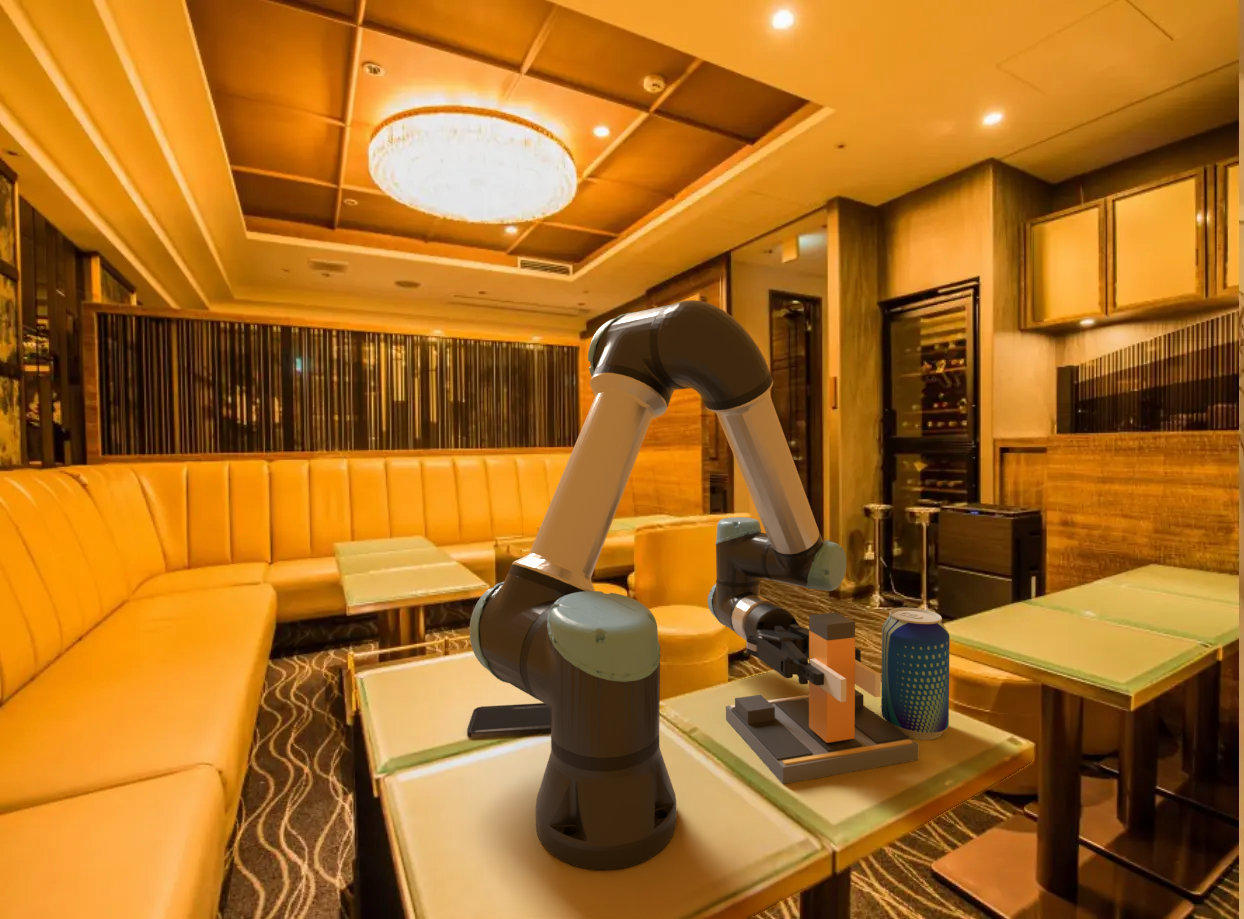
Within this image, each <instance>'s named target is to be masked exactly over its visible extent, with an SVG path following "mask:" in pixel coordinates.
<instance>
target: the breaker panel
mask: <svg viewBox="0 0 1244 919" xmlns="http://www.w3.org/2000/svg"><path fill="white" fill-rule="evenodd" d="M725 720H726V722H727V723H728V724H729V725H730V726H731V727H732V728H733V730H735V732H736V733H737V734H738V735H739V736H740V737H741V739H742V740H743V741H744V742H745V743H746V744H747V745H748V746H749V748H750V749H751V750H752V751H753V752H754V753H755V754H756V756H758V757H759V759H760V760H761V761H762V762H763V763H764V765H765V766H767V768H768V770H770V771H771V772H772V774H773V775H775V777H776V778H777V779H778V780H779V781H780V782H781V784H782V785H784V784H790V783H792V784H793V783H797V782H802V781H807V780H813V779H814V780H815V779H819V778H825V777H830V776H835V775H841V774H846V773H853V772H859V771H864V770H869V769H875V768H880V767H885V766H887V767H888V766H892V765H897V764H902V763H903V764H904V763H907V762H915V761H918V760H919V744H918V743H917V742H916V741H915V740H913V739H912V738H910V737H909V736H907V735H906V734H904V733H903V732H901V731H900V730H898V729H897V728H896V727H894V726H893V725H891V724H890V723H888V722H887V721H886V720H885V719H884V717H883V718H882V717H881V716H880V715H878V714H876V712H874V711H873V710H871V709H870V708H868V707H867V706H866V705H864V694H863V693H862V692H860V691H859V690H857V689H855V738H854V739H847V740H841V741H835V742H829V743H826V742H825V741H824V740H823V739H822V738H821V737H820V736H818V735H817V734H816V733H815V732H814V731H813V730H811V729H810V728H809V694H805V695H798V696H797V695H796V696H791V697H782V698H775V699H766V698H765V697H764V696H763V695H762V694H757V695H747V696H741V697H736V698H734V704H730V705H725Z"/></svg>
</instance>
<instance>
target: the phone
mask: <svg viewBox="0 0 1244 919" xmlns="http://www.w3.org/2000/svg"><path fill="white" fill-rule="evenodd" d="M531 735H532V736H535V735H551V712H550V707H549V706H548V705H547V704H545V703H543V702H540V703H539V702H538V703H523V704H521V703H520V704H519V703H518V704H504V705H503V704H502V705H501V704H500V705H487V706H485V705H484V706H483V705H482V706H478V707H476V708H474V709H473V711H472V714H471V716H470V719H469V723H468V725H467V728H466V736H467V737H468V738H470V739H483V738H484V739H485V738H487V739H488V738H499V737H502V738H503V737H515V736H517V737H518V736H531Z"/></svg>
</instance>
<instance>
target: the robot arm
mask: <svg viewBox="0 0 1244 919" xmlns="http://www.w3.org/2000/svg"><path fill="white" fill-rule="evenodd" d="M587 361H588V362H589V364H590V366H589V367H588V370H589V372H590V376H591V378H590V381H589V386H590V389H591V391H592V393H593V395H594V398H593V401H592V404H591V405H590V408H589V410H588V413H587V416H586V418H585V420H584V423H583V425H582V427H581V430H580V432H579V435H578V436H577V440H576V442H575V444H574V446H573V449H572V450H571V451H572V452H571V453H570V456H569V458H568V460H567V463H566V465H565V468H564V470H563V472H562V474H561V477H560V479H559V482H558V484H557V487H556V489H555V491H554V494H553V496H552V499H551V501H550V503H549V506H548V508H547V510H546V513H545V515H544V518H543V520H542V522H541V525H540V527H539V529H538V531H537V534H536V536H535V538H534V542H533V543H532V546H531V548H530V549H529V550H530V551H529V553H528V554H526V555H525V556H523V557H521V558H519V559H517V560H515V561H513V562H512V564H510V565H511V566H510V568H509V570H508V573H507V574H506V576H505V579H504V581H502V582H499V583H498V582H497V583H496V584H495V585H494V586H493V587H491V588H489V589H487V590H486V591H484V593H483V594H482V595H481V596H480V598H479V600H477V602H476V604H475V606H474V608H473V611H472V614H471V617H470V622H469V641H470V645H471V648H472V651H473V654H474V656H475V657H476V660H477V661H478V662H479V663H480V665H482V667H483V668H484V669H486V670H487V671H489V673H491V674H492V676H494V677H495V678H496V679H497V680H499V681H500V682H503V683H506V684H510V685H512V686H513V687H515V688H517V689H518V690H520V691H522V692H523V693H526V694H527V695H529V696H531V697H532V698H534V699H536V700H538V701H540V703H545V704H547V705H548V706H549V707H550V712H551V734H550V741H551V742H550V754H549V755H548V756H549V758H548V760H547V762H546V767H545V770H544V774H543V777H542V780H541V783H540V787H539V790H538V794H537V796H536V801H535V830H536V834H537V836H538V839H539V841H540V843H541V844H542V846H543V847H544V848H545V849H546V850H547V851H548V852H549V853H550V854H551V855H552V856H554V857H555V858H557V859H559V860H560V861H563V862H565V863H567V864H570V865H572V866H576V867H579V868H584V869H590V870H615V869H617V870H618V869H624V868H628V867H631V866H635V865H638V864H641V863H643V862H644V861H648V860H649V859H651V858H653V857H654V856H656V855H658V853H659V852H661V851H663V849H664V848H665V847H667V845H668V844H669V842H670V841H671V839H672V838H673V836H674V834H675V831H676V828H677V798H676V793H675V790H674V786H673V783H672V780H671V778H670V774H669V772H668V768H667V766H666V762H665V759H664V756H663V753H662V751H661V748H660V747H661V746H660V709H661V708H660V705H661V704H660V699H661V698H660V691H661V690H660V689H661V686H660V685H661V681H660V679H661V677H660V676H661V675H660V672H661V668H660V667H661V646H660V641H659V634H658V633H659V630H658V625H657V624H658V623H657V619H656V618H655V616H654V614H653V613H652V611H651V610H650V609H649V608H648V607H647V606H646V605H645V604H643V603H642V602H640V601H638V600H637V599H634V598H632V597H629V596H626V595H623V594H621V593H616V592H610V593H604V592H603V591H600V590H599V591H598V590H595V588H594V584H593V582H592V576H593V573H594V571H595V568H596V565H597V563H598V560H599V558H600V555H601V552H602V550H603V547H604V544H605V542H606V540H607V536H608V534H609V531H610V529H611V527H612V524H613V521H614V518H615V515H616V513H617V511H618V509H619V505H620V502H621V500H622V497H623V495H624V492H625V490H626V487H627V484H628V482H629V479H630V476H631V474H632V471H633V469H634V466H635V463H636V461H637V459H638V455H639V453H640V450H641V447H642V445H643V443H644V440H645V437H646V434H647V432H648V430H649V427H650V424H651V422H652V420H654V419H656V418H659V417H661V416H663V415H664V414H665V413H666V412H667V409H668V406H669V404H670V402H671V398H672V396H673V393H674V392H675V391H677V390H685V389H692V390H693V391H695V392H697V394H699V395H700V398H701V400H702V402H703V404H704V407H705V409H706V410H707V411H709V412H713V413H716V416H717V419H718V422H719V424H720V425H721V426H720V427H721V428H722V430H723V433H724V435H725V437H726V441H727V442H728V445H729V448H730V449H731V451H732V455H733V457H734V459H735V461H736V464H737V466H738V469H739V471H740V474H741V476H742V479H743V481H744V483H745V486H746V487H747V490H748V493H749V495H750V497H751V499H752V502H753V504H754V507H755V509H756V511H757V514H758V516H759V519H760V521H759V520H758V519H756V518H753V517H743V516H739V517H737V516H736V517H735V516H734V517H725V518H721V519H720V520H719V521H718V523H717V525H716V539H715V540H716V541H715V545H714V546H715V562H716V563H715V566H716V567H715V569H716V572H715V573H716V581H715V584H714V585H713V586H712V587H711V588H710V589H711V590H710V591H709V593H708V596H707V604H708V610H709V611H710V613H711V614H712V615H713V617H715V618H716V620H717V621H718V622H719V623H720V624H721V625H722V626H724V627H726V628H728V629H730V630H731V631H733V632H734V633H736V635H738V636H739V637H741V638H742V639H743V640H744V641H746V654H747V655H751V656H753V657H755V658H758V660H760V661H761V662H763V663H764V664H765V665H767V667H769V668H771V670H774V672H776V673H778V674H779V675H780V676H782V677H783V678H786V679H793V677H794V676H795V675H796V676H797V677H798V682H797V683H798V684H800V685H809V681H810V682H811V683H813V684H814V685H817V686H819V687H821V688H822V689H823V690H825V691H826V692H827V693H829V694H830V695H832V696H833V697H834V698H836V699H837V700H838V701H840V702H845V701H846V678H844V677H843V676H841V675H840V674H838V673H837V672H835V671H833V670H832V669H830V668H829V667H827V666H826V665H824V664H823V663H821V662H820V661H818V660H817V659H815V658H814V659H810V663H809V628H806V627H803V626H800V625H799V623H798V621H797V620H796V618H795V617H794V615H793V614H792V613H791V612H789V611H788V610H786V609H785V608H783V607H781V606H779V605H777V604H776V603H774V602H773V601H771V600H768V599H766V598H765V597H763V596H762V595H761V579H763V580H768V581H773V582H778V583H783V584H788V585H791V586H797V587H802V588H804V589H805V588H806V589H808V590H817V591H819V590H820V591H827V592H831V591H834V590H837V589H838V588H839V587H840V586H841V584H842V582H843V581H844V578H845V576H846V571H847V555H846V553H845V552H846V551H845V550H844V548H843V546H841V545H840V544H838V543H836V542H833V541H831V540H823V538H822V535H821V532H820V530H819V528H818V525H817V523H816V519H815V516H814V514H813V510H812V509H811V505H810V502H809V499H808V498H807V495H806V492H805V490H804V489H805V488H804V487H803V484H802V480H801V478H800V474H799V472H798V470H797V467H796V465H795V464H796V463H795V461H794V458H793V455H792V453H791V450H790V448H789V444H788V442H787V439H786V437H785V436H786V435H785V434H784V431H783V428H782V425H781V422H780V420H779V416H778V414H777V412H776V408H775V406H774V402H773V399H772V397H771V394H770V390H772V387H773V386H774V380H773V377H772V374H771V371H770V368H769V365H768V363H767V360H766V358H765V356H764V355H763V353H762V352H761V349H760V348H759V346H758V344H757V343H756V342H755V340H754V339H753V337H752V336H751V335H750V334H749V333H748V331H747V330H746V329H745V327H744V326H743V325H742V324H741V323H740V322H739V321H738V320H736V318H734V317H733V316H732V315H730V314H729V313H728V312H726V311H725V310H724V309H722V308H720V307H718V306H716V305H714V304H713V303H709V302H707V301H701V300H696V299H695V300H694V299H693V300H692V299H689V300H682V301H678V302H675V303H672V304H668V305H664V306H659V307H654V308H648V309H646V310H645V309H644V310H641V311H636V312H635V311H633V312H627V313H624V314H620V315H618V316H617V317H615V318H612V319H609V320H607V321H606V322H605V323H604V324H602V325H601V326H599V328H598V329H597V330H596V332H595V333H594V335H593V337H592V338H591V342H590V344H589V347H588V353H587ZM760 522H761V523H760ZM761 524H762V526H763V529H764V531H765V532H762V528H761ZM861 657H862V650H861V649H859V648H858V647H856V646H855V686H857V687H859V688H860V689H862V690H864V691H865V692H866V693H868V694H870V695H871V696H872V697H874V698H879V697H882V673H879V672H877V671H875V670H874V669H873V668H870V667H869V666H868V665H866V664H864V663H862V658H861Z"/></svg>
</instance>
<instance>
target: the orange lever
mask: <svg viewBox="0 0 1244 919" xmlns="http://www.w3.org/2000/svg"><path fill="white" fill-rule="evenodd" d="M808 624H809V625H808V629H809V658H808V663H810V659H814V658H815V659H817V660H818V661H820V662H821V663H823V664H824V665H826V666H827V667H829V668H830V669H832V670H833V671H835V672H837V673H838V674H840V675H841V676H843V677H844V678H846V701H845V702H840V701H838V700H837V699H836V698H834V697H833V696H832V695H830V694H829V693H827V692H826V691H825V690H823V689H822V688H821V687H819V686H817V685H814V684H813V683H811V682H810V681H809V680H808V695H809V728H810V729H811V730H813V731H814V732H815V733H816V734H817V735H818V736H820V737H821V738H822V739H823V740H824V741H825V742H826V743H829V742H835V741H841V740H847V739H854V738H855V690H856V684H855V647H856V621H855V620H852V619H850V618H848V617H847V616H844V615H842V614H840V613H838V612H827V613H826V612H825V613H818V614H817V613H816V614H809V615H808Z"/></svg>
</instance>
